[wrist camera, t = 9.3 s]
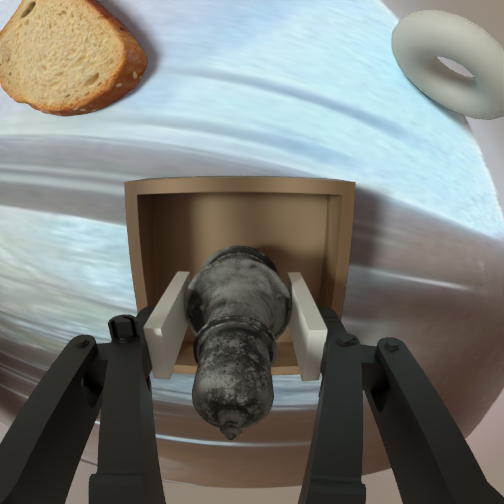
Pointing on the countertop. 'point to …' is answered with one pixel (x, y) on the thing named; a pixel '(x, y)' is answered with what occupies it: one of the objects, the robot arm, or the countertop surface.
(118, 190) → the countertop surface
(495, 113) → the donut
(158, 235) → the box
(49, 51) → the slice of bread
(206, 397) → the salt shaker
